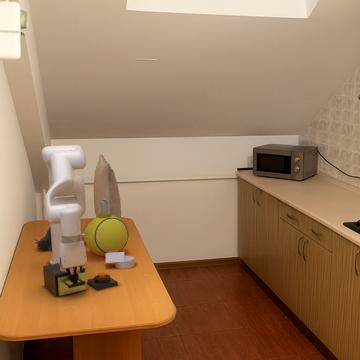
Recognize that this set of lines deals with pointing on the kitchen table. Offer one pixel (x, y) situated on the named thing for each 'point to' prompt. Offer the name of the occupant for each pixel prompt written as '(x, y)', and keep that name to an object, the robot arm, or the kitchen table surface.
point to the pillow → (106, 188)
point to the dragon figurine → (49, 241)
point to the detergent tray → (71, 284)
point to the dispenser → (54, 277)
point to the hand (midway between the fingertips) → (74, 282)
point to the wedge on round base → (120, 260)
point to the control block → (102, 282)
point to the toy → (106, 232)
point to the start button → (102, 275)
